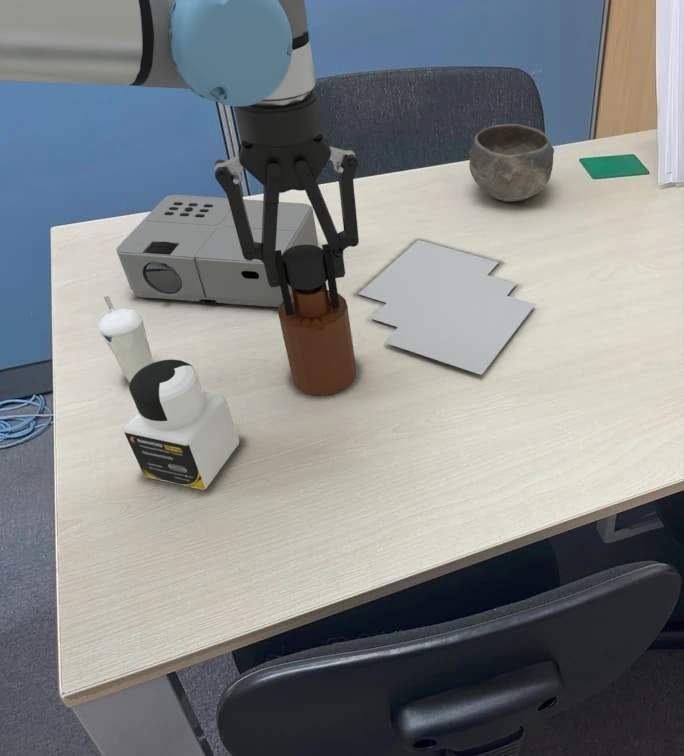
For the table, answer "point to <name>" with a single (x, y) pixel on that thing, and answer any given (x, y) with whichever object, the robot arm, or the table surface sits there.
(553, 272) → the table surface
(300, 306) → the bottle
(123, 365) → the milkshake
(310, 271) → the stopper
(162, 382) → the medicine bottle
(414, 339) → the paper stack
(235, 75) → the robot arm
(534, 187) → the bowl
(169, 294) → the projector
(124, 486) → the table surface
